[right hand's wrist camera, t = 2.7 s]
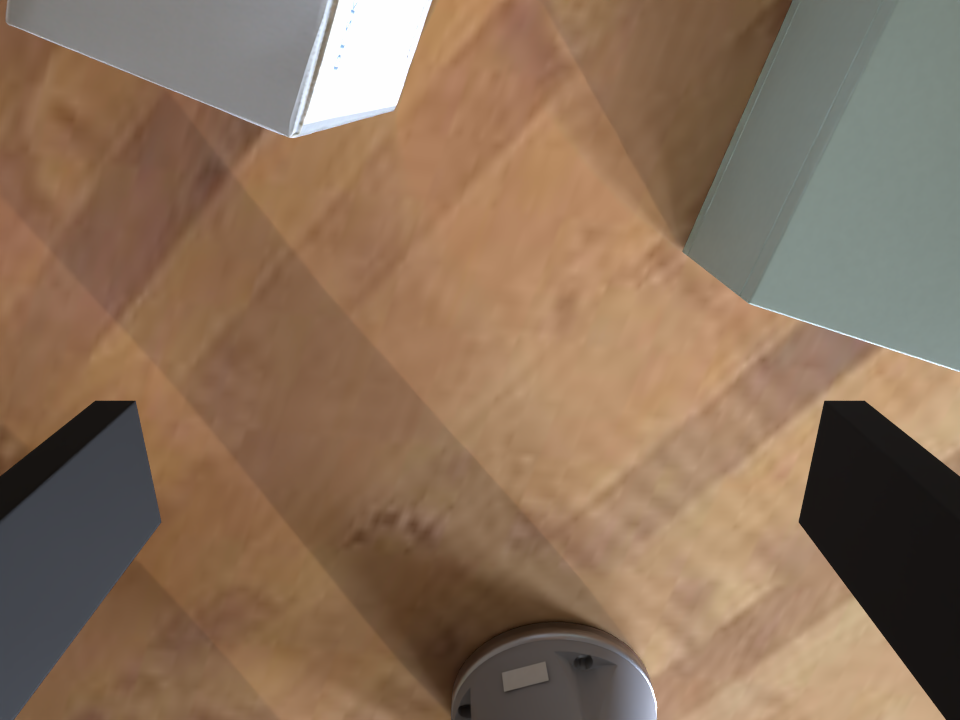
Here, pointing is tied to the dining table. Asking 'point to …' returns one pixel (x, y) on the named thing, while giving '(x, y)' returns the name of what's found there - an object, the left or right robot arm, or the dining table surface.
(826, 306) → the cabinet
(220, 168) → the dining table surface
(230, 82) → the hard drive box
